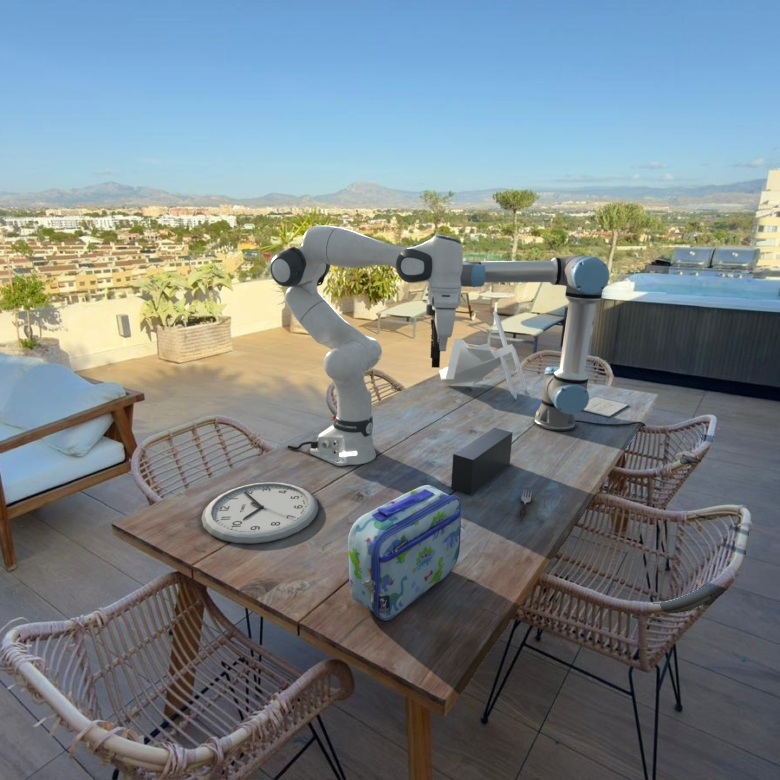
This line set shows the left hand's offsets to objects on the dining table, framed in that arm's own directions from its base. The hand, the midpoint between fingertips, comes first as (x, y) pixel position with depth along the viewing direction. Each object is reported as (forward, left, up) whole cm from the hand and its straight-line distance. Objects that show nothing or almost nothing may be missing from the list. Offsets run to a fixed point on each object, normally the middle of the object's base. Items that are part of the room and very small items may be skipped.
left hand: (441, 347), depth 146 cm
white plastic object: (-21, +90, -41) cm, 101 cm away
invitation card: (+31, +100, -41) cm, 113 cm away
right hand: (-18, +34, -14) cm, 41 cm away
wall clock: (-31, -42, -41) cm, 66 cm away
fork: (+28, -3, -41) cm, 50 cm away
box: (+11, +10, -41) cm, 44 cm away
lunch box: (+17, -49, -41) cm, 66 cm away
